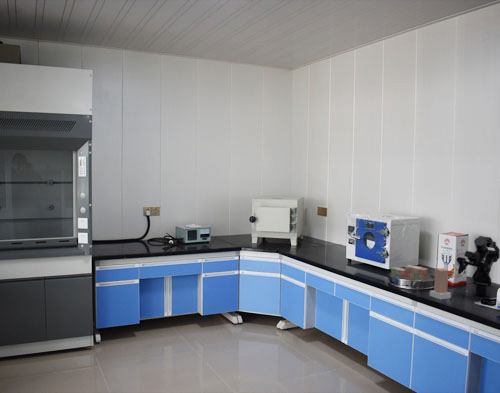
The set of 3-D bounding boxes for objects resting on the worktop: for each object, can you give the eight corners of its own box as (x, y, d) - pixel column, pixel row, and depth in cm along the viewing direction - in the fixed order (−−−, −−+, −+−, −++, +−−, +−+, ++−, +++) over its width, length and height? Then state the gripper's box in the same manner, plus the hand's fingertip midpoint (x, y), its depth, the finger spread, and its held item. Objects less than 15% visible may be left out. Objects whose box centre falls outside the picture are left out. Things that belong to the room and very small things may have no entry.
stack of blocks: (390, 282, 288) (391, 263, 287) (394, 280, 292) (395, 262, 291) (423, 289, 273) (424, 269, 272) (427, 287, 278) (428, 268, 277)
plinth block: (439, 294, 263) (439, 289, 263) (450, 298, 256) (451, 292, 256) (429, 295, 260) (429, 290, 260) (440, 299, 253) (441, 294, 252)
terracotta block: (441, 290, 261) (443, 268, 260) (447, 292, 256) (448, 270, 255) (434, 290, 260) (435, 268, 259) (439, 293, 255) (440, 270, 254)
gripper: (459, 243, 262) (445, 263, 258) (488, 249, 245) (473, 270, 241) (467, 255, 266) (453, 275, 262) (497, 262, 250) (482, 283, 245)
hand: (465, 276), depth 253 cm, fingers open, 9 cm apart
